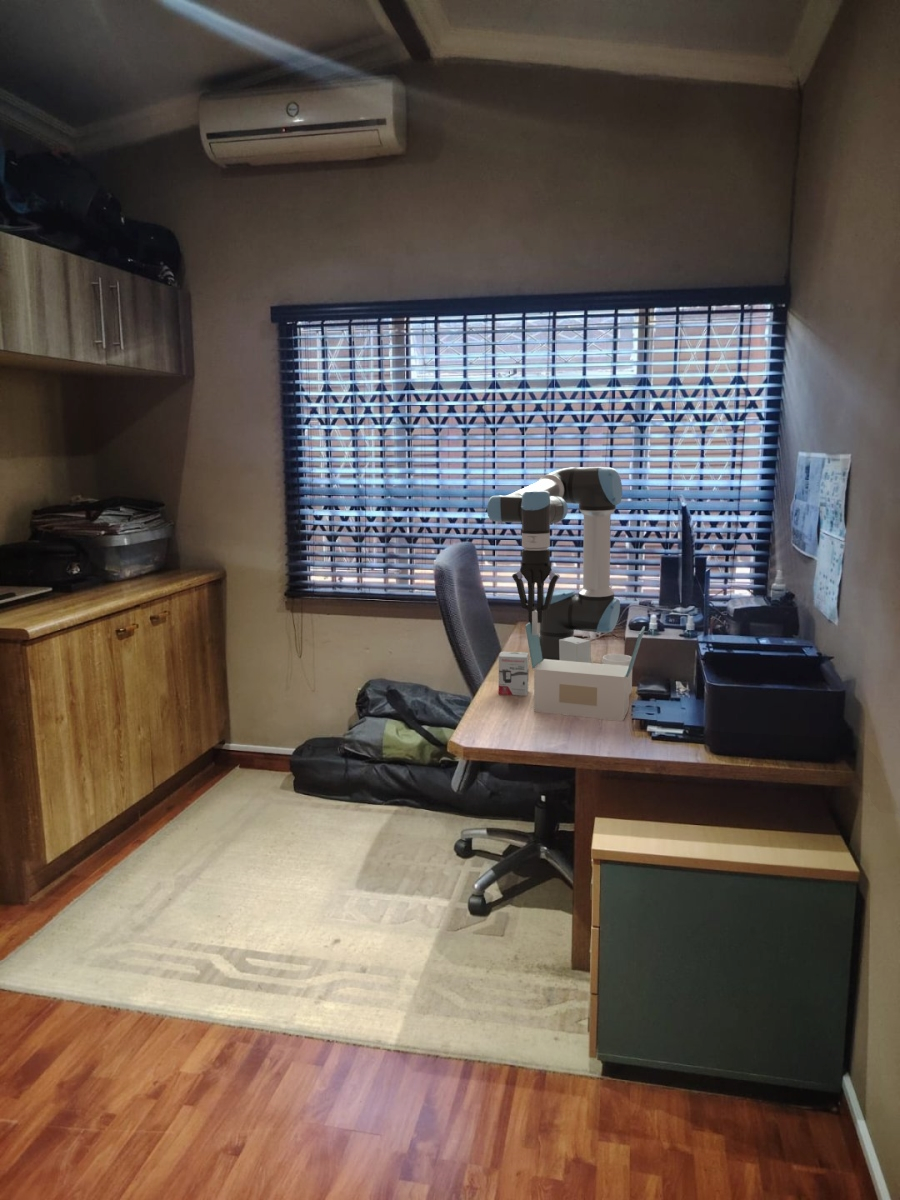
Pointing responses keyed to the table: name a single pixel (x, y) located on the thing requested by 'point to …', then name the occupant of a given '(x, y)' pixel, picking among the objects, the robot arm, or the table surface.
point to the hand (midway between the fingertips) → (535, 633)
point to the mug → (618, 663)
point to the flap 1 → (533, 646)
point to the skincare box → (575, 650)
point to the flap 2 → (635, 651)
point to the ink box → (513, 673)
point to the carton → (581, 689)
